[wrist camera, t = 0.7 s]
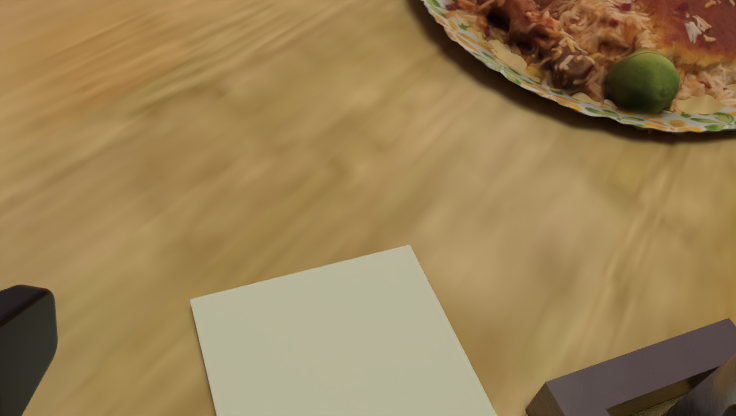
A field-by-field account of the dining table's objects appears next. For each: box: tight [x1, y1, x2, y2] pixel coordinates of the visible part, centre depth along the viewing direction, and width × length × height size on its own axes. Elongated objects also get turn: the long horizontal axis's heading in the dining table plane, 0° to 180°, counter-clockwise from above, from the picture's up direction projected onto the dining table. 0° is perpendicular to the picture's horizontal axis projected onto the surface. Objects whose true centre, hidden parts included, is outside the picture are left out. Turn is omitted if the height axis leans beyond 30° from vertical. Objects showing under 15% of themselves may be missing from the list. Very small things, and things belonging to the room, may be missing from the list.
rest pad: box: [190, 245, 497, 416], centre depth 25 cm, size 10×10×1 cm
